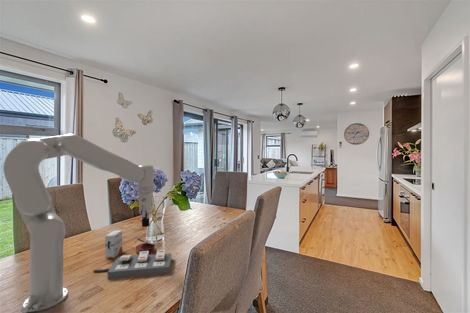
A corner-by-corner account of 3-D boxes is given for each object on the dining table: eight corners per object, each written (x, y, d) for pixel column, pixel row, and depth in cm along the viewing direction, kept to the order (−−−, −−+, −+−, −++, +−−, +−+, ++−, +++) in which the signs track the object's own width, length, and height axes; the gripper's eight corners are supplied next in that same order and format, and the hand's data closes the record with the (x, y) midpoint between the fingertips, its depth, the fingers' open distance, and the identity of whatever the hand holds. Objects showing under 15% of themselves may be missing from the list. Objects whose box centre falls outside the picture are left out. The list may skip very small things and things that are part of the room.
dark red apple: (137, 258, 124) (136, 240, 128) (155, 254, 127) (154, 236, 131) (134, 257, 114) (133, 237, 118) (155, 252, 118) (153, 233, 122)
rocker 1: (128, 260, 102) (128, 257, 102) (119, 260, 101) (119, 257, 102) (131, 257, 108) (131, 254, 108) (122, 257, 107) (123, 254, 107)
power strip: (169, 273, 100) (169, 266, 100) (87, 280, 93) (87, 273, 93) (171, 258, 114) (171, 252, 114) (99, 264, 107) (100, 257, 107)
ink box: (113, 250, 122) (114, 229, 122) (122, 250, 122) (122, 230, 122) (104, 257, 114) (105, 235, 114) (113, 258, 114) (114, 235, 114)
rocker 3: (164, 259, 106) (164, 257, 106) (155, 260, 105) (155, 258, 105) (165, 251, 112) (165, 249, 111) (157, 252, 111) (157, 250, 110)
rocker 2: (146, 261, 104) (146, 258, 104) (137, 261, 103) (137, 259, 103) (148, 253, 110) (148, 250, 110) (140, 253, 109) (140, 251, 109)
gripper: (151, 192, 102) (151, 231, 102) (155, 187, 116) (155, 221, 117) (133, 192, 100) (134, 232, 101) (140, 187, 115) (140, 221, 115)
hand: (145, 226), depth 109 cm, fingers closed
